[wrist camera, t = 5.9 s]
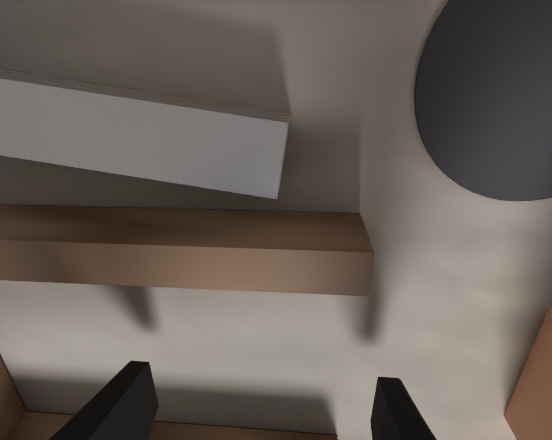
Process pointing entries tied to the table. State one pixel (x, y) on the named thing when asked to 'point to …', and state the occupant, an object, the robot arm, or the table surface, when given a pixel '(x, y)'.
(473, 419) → the table surface
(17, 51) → the table surface
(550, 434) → the cube
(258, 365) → the table surface
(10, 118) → the steel bar
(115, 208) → the bay
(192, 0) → the table surface
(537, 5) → the hole disc
